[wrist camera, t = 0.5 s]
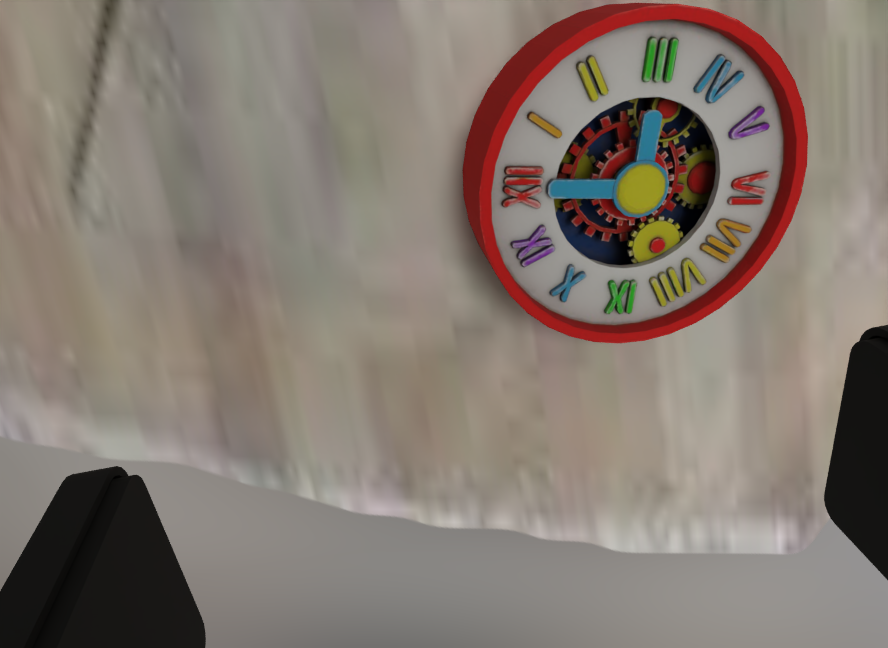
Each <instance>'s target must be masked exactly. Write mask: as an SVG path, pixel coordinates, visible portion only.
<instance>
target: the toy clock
mask: <svg viewBox="0 0 888 648" xmlns="http://www.w3.org/2000/svg"><path fill="white" fill-rule="evenodd" d="M807 145H808V133H807V126H806V119H805V112H804V106H803V104H802V101H801V98H800V95H799V92H798V89H797V86H796V83H795V80H794V79H793V77H792V75H791V74H790V72H789V70H788V68H787V67H786V65H785V63H784V62H783V60H782V58H781V57H780V56H779V54H778V53H777V52H776V51H775V50H774V49H773V48H772V47H771V46H770V45H769V44H768V43H767V42H766V40H765V39H764V38H763V37H762V36H761V35H759V34H758V33H756V32H755V31H753V30H752V29H750V28H749V27H747V26H746V25H745V24H743V23H742V22H740V21H739V20H737V19H734V18H732V17H729V16H727V15H724V14H722V13H719V12H716V11H714V10H711V9H707V8H700V7H694V6H688V5H682V4H657V3H627V4H610V5H605V6H601V7H597V8H593V9H589V10H585V11H582V12H579V13H577V14H574V15H572V16H570V17H568V18H566V19H564V20H562V21H559V22H557V23H555V24H553V25H552V26H550V27H549V28H547V29H546V30H544V31H543V32H542V33H540V34H539V35H537V36H536V37H534V38H533V39H532V40H530V41H529V42H527V43H526V44H525V45H524V46H523V47H522V48H521V49H520V50H519V51H518V52H517V53H516V54H515V55H514V56H513V57H512V58H511V59H510V60H509V61H508V62H507V63H506V64H505V66H504V67H503V69H502V70H501V71H500V73H499V74H498V75H497V77H496V78H495V80H494V81H493V82H492V84H491V85H490V87H489V88H488V90H487V92H486V94H485V96H484V98H483V100H482V102H481V104H480V106H479V108H478V110H477V112H476V114H475V116H474V120H473V123H472V126H471V129H470V132H469V136H468V139H467V142H466V149H465V157H464V164H463V192H464V200H465V205H466V209H467V214H468V219H469V222H470V225H471V227H472V229H473V232H474V234H475V237H476V239H477V241H478V244H479V245H480V247H481V249H482V251H483V252H484V254H485V256H486V258H487V259H488V261H489V263H490V265H491V266H492V268H493V270H494V271H495V273H496V275H497V276H498V278H499V279H500V281H501V282H502V284H503V285H504V287H505V288H506V290H507V291H508V293H509V294H510V296H511V297H512V298H513V299H514V300H515V301H516V302H517V303H518V304H519V305H520V306H521V307H522V308H523V309H524V310H525V311H526V312H527V313H528V314H530V315H531V316H533V317H534V318H536V319H537V320H539V321H540V322H542V323H543V324H545V325H546V326H547V327H549V328H552V329H554V330H556V331H559V332H561V333H564V334H566V335H568V336H571V337H575V338H579V339H584V340H588V341H592V342H605V343H626V342H636V341H645V340H649V339H652V338H656V337H660V336H664V335H667V334H671V333H673V332H675V331H678V330H680V329H682V328H685V327H687V326H689V325H692V324H694V323H696V322H698V321H700V320H701V319H703V318H704V317H706V316H708V315H709V314H711V313H713V312H714V311H716V310H717V309H719V308H720V307H722V306H723V305H724V304H725V303H727V302H728V301H729V300H730V299H732V298H733V297H734V296H735V295H737V294H738V293H739V292H740V291H741V290H742V289H743V288H744V287H745V286H746V285H747V284H748V283H749V282H750V281H751V280H752V279H753V278H754V277H755V276H756V274H757V273H758V272H759V271H760V270H761V269H762V267H763V266H764V265H765V263H766V262H767V261H768V259H769V258H770V256H771V255H772V254H773V252H774V251H775V249H776V248H777V247H778V245H779V243H780V241H781V239H782V237H783V235H784V234H785V232H786V230H787V228H788V226H789V224H790V222H791V220H792V217H793V215H794V212H795V209H796V206H797V204H798V201H799V198H800V195H801V192H802V187H803V182H804V177H805V172H806V167H807Z"/></svg>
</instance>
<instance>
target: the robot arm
mask: <svg viewBox="0 0 888 648" xmlns="http://www.w3.org/2000/svg"><path fill="white" fill-rule="evenodd" d="M824 501H825V506H826V509H827V512H828V514H829V516H830V518H831V519H832V520H833V522H834V523H835V524H836V525H837V526H838V527H839V529H840V530H842V532H843V533H844V534H845V535H846V536H847V537H848V538H849V539H850V540H851V541H852V542H853V543H854V545H855V546H856V547H857V548H858V549H859V550H860V551H861V552H862V553H863V554H864V555H865V556H866V557H867V558H868V560H869V561H870V562H871V563H873V565H874V566H875V567H876V568H877V569H878V570H879V571H880V572H881V573H882V574H883V576H884V577H885V578H886V579H887V580H888V325H885V326H879V327H874V328H871V329H869V330H867V331H865V332H864V334H863V335H862V336H861V338H860V341H859V342H857V343H855V345H854V346H853V347H852V349H851V352H850V357H849V363H848V368H847V374H846V379H845V384H844V390H843V395H842V401H841V406H840V412H839V417H838V423H837V428H836V433H835V439H834V444H833V450H832V455H831V461H830V466H829V472H828V477H827V483H826V488H825V493H824ZM205 640H206V638H205V628H204V623H203V620H202V617H201V615H200V612H199V610H198V608H197V606H196V603H195V601H194V598H193V596H192V594H191V591H190V589H189V587H188V584H187V582H186V579H185V577H184V575H183V572H182V570H181V568H180V565H179V563H178V561H177V559H176V556H175V554H174V551H173V549H172V547H171V544H170V542H169V540H168V537H167V535H166V532H165V530H164V528H163V526H162V523H161V521H160V518H159V516H158V514H157V511H156V509H155V507H154V504H153V502H152V500H151V497H150V495H149V493H148V490H147V488H146V486H145V483H144V482H143V480H142V478H141V477H140V476H138V475H132V476H128V474H127V472H126V471H125V470H124V469H123V468H122V467H118V466H116V467H110V468H105V469H99V470H94V471H88V472H83V473H78V474H72V475H70V476H68V477H66V479H65V480H64V481H63V482H62V484H61V486H60V487H59V489H58V491H57V493H56V494H55V496H54V498H53V500H52V501H51V503H50V505H49V507H48V508H47V510H46V512H45V514H44V515H43V517H42V519H41V521H40V523H39V524H38V526H37V528H36V530H35V532H34V533H33V535H32V536H31V538H30V540H29V542H28V543H27V545H26V547H25V549H24V550H23V552H22V554H21V556H20V557H19V559H18V561H17V563H16V564H15V566H14V568H13V570H12V571H11V573H10V575H9V577H8V579H7V580H6V582H5V584H4V586H3V587H2V589H1V591H0V648H205V642H206V641H205Z"/></svg>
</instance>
